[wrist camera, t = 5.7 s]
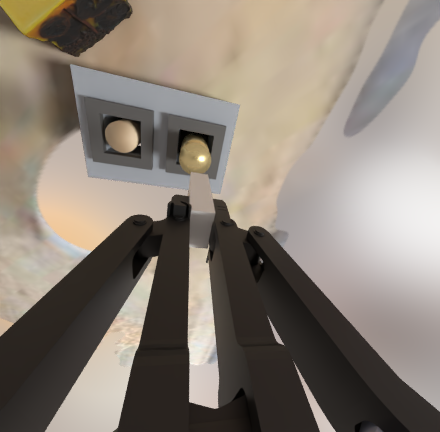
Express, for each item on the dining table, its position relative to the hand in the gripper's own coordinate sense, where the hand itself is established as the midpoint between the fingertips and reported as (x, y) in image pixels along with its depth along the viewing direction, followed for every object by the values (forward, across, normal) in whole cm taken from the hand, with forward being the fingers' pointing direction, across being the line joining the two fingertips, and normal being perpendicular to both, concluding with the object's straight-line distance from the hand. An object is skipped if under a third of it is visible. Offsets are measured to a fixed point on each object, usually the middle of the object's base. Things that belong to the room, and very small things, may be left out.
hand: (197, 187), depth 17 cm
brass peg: (+16, 0, 0) cm, 16 cm away
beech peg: (+20, -10, 0) cm, 23 cm away
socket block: (+20, -5, 0) cm, 21 cm away
